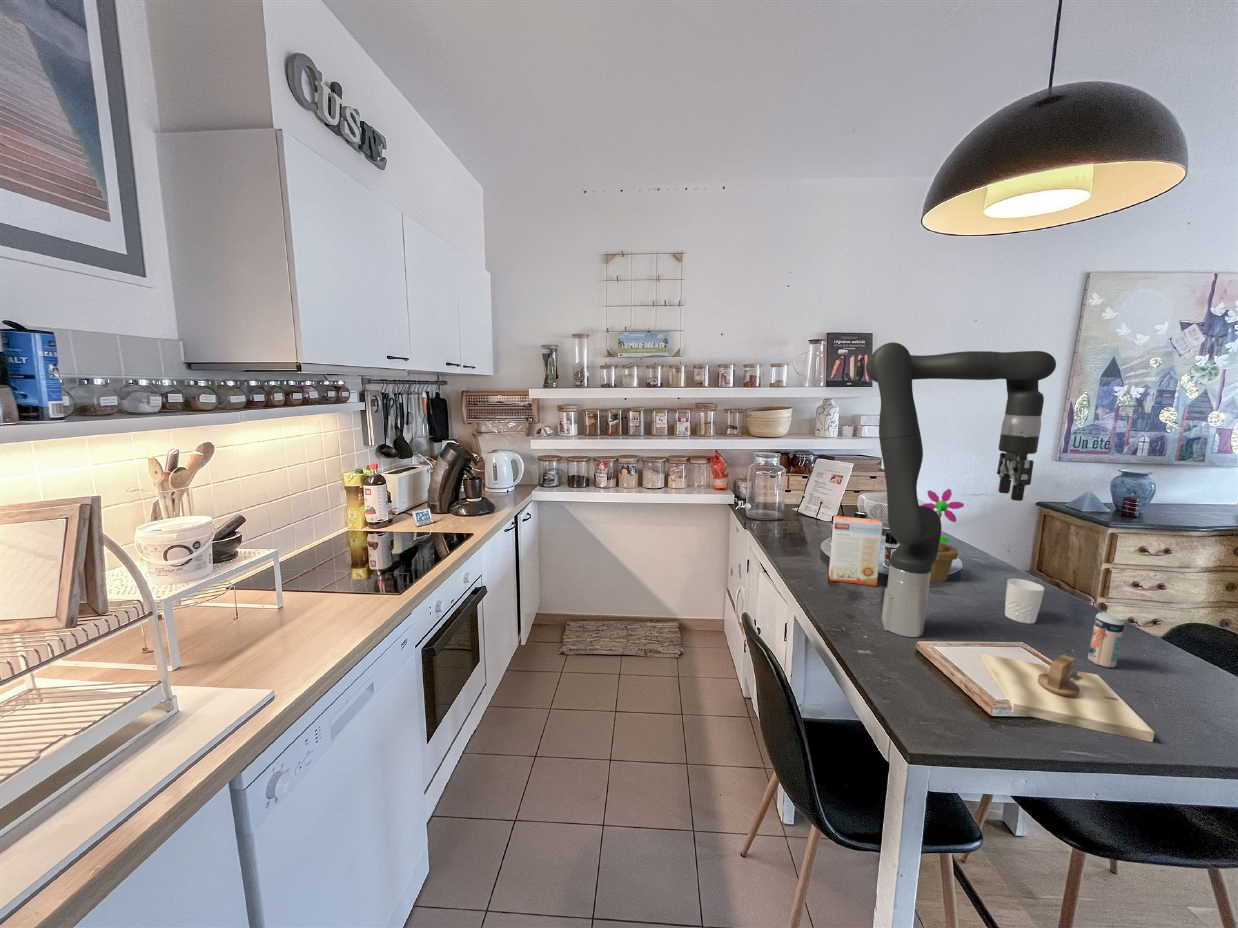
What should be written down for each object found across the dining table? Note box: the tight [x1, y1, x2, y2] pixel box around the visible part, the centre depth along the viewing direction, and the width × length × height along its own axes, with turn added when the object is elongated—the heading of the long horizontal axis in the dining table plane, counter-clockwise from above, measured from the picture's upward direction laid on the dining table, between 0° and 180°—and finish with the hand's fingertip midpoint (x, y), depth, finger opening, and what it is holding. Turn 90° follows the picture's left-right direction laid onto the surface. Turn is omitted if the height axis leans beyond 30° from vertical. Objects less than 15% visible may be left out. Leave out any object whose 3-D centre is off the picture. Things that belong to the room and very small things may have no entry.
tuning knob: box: [1038, 654, 1080, 697], centre depth 101 cm, size 12×6×6 cm, turn 120°
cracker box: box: [828, 515, 884, 587], centre depth 157 cm, size 14×6×21 cm, turn 71°
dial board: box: [981, 653, 1156, 743], centre depth 100 cm, size 21×19×2 cm
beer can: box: [1087, 611, 1126, 668], centre depth 112 cm, size 5×5×12 cm
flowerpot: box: [920, 488, 965, 583], centre depth 161 cm, size 14×14×30 cm
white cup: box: [1004, 578, 1045, 625], centre depth 134 cm, size 8×8×10 cm
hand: (1009, 496), depth 123 cm, fingers open, 8 cm apart
